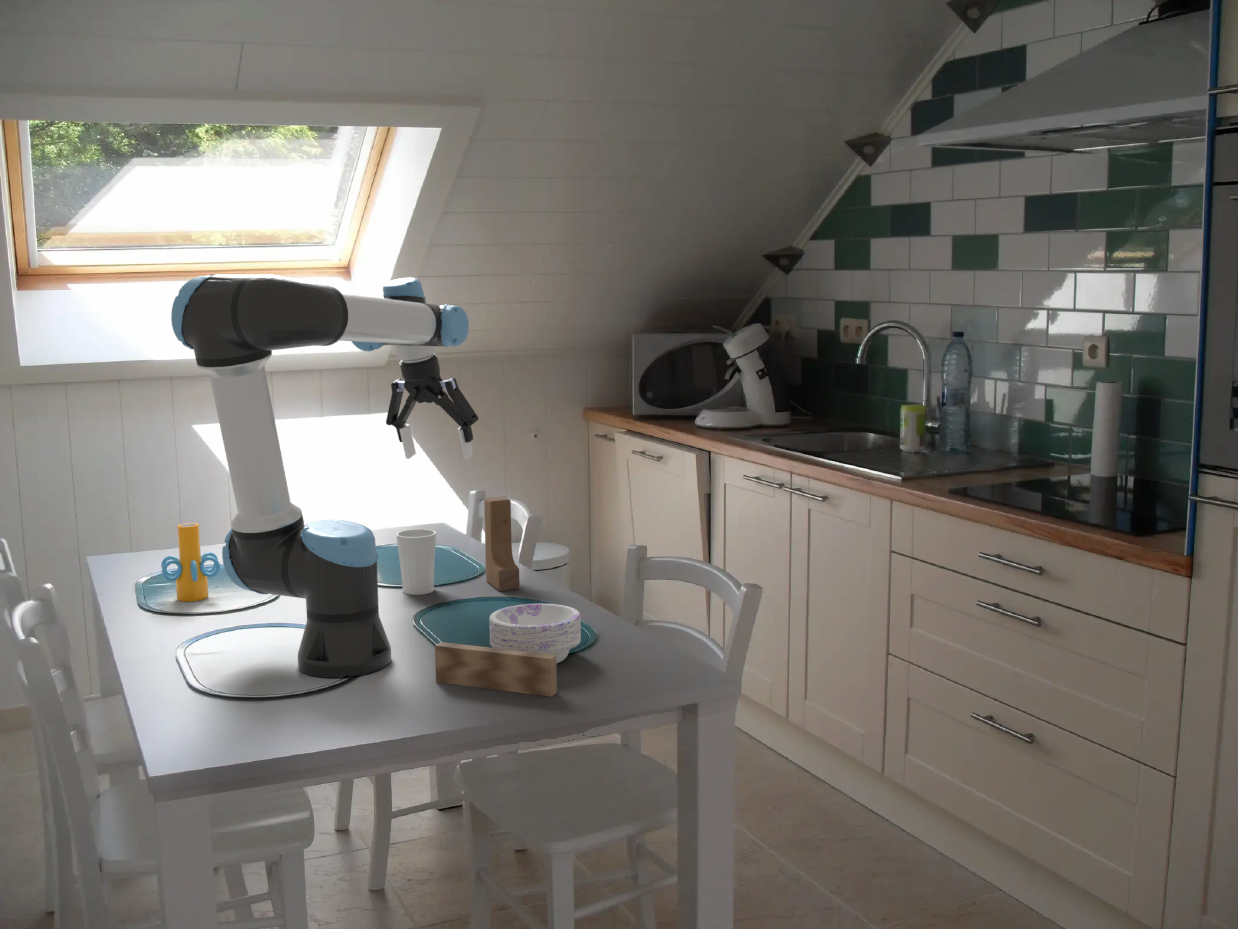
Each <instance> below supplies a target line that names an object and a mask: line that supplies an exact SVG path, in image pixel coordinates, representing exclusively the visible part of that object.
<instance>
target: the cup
mask: <svg viewBox="0 0 1238 929" xmlns="http://www.w3.org/2000/svg"><path fill="white" fill-rule="evenodd" d="M436 540H437V532H436V531H435V530H433V529H428V528H426V529H425V528H413V529H405V530H404V529H403V530H401V531H397V533H396V544H397V550H398V556H399V558H398V559H399V567H400V577H401V585H402V593H403V594H405V595H410V596H411V595H413V596H418V595H419V596H420V595H426V594H430V593H433V592H434V591H435V586H434V581H435V559H436V544H437V542H436Z"/></svg>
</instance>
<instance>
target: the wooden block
mask: <svg viewBox="0 0 1238 929" xmlns="http://www.w3.org/2000/svg"><path fill="white" fill-rule="evenodd" d="M483 504H484V505H483V507H484V509H483V510H484V538H485V539H484V542H485V543H484V545H485V546H484V549H485V576H486V577H485V580H486V582H487V583H488V584H489V585H491V586H492V587H493V588H494V589H495V590H497V591H498V592H508V591H513V590H514V591H516V590H519V589H520V568H519V567H518V566H517V564H516V563H515V559H514V557H513V556H514V555H513V548H512V546H513V545H512V544H513V543H512V542H513V541H512V507H511V506H512V503H511V499H510V498H508V497H506V496H504V495H501V496H489V497H488V496H487V497H485V498H484V499H483Z"/></svg>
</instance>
